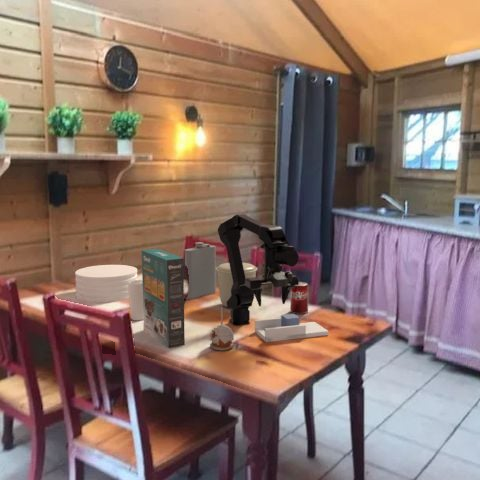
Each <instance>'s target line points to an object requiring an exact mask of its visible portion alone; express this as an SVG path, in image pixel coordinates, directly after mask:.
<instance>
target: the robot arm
mask: <svg viewBox="0 0 480 480" xmlns="http://www.w3.org/2000/svg"><path fill="white" fill-rule="evenodd" d="M244 229H245V230H247V231H249V232H251V233H253V234H255V235H257V236H258V239H259V240H260V241H261V242H262V244H261V245H260V246H259V248H260V249H263V250H264V251H263V252H264V253H263V254H264V256H263V258H264V259H263V263H262V268H263V269H264V270H263V274H262V279H260V278H258V277H257V276H255V277H253V278H247V279H246V278H245V273H244V268H243V263H244V262H243V259H242V254H241V249H240V245H239V243H240V240H241V238H242V231H243V230H244ZM217 233H218V235H219V239H220V241H221V242H222V244H223V245H224V246H225V249H226V253H227V259H228V263H229V264H230V269H231V274H232V279H233V285H232V288H231V297H230V298H229V300H228V301H227V307H226V308H229V309H230V318H229V322H230V323H231V324H232V325H234V326H240V325H250V324H251V322H250V317H251V316H250V315H251V313H250V312H251V311H250V310H249V307H252V306H253V302H254V299H256V301H257V305H258V307H262V291H263V289H262V288H261V287H262V286H264V285H272V286H273V287H274V288H280V287H281V302H282V304H283V305H285V304H286V302H287V301H286V300H287V299H288V296H289V294H290V293H291V289H292V288H293V287H295V285H299V282H300V279H299V277H298V276H296V275H294V274H293V273H292V271H283V266H287V267H295V266H296V265H297V264H298V262H299V258H300V255H299V253H298V252H297V250H295V246H293V245H290V242H289V240H288V239H287V237H286V236H287V235H286V234H285V232H284V230H283V227H281V226H280V225H274V224H267V223H266V224H265V223H264V222H261V221H259V220H257V219H254V218H252V217H250V216H248V215H247V214H245V213H239V214H235V215H233V216H231V218H229V219H227V220H225V221H223V222H222V223H219V226H218V228H217ZM282 265H283V266H282Z"/></svg>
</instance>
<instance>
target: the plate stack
mask: <svg viewBox="0 0 480 480" xmlns="http://www.w3.org/2000/svg"><path fill="white" fill-rule="evenodd" d="M74 272H75V273H74V275H75V292H76V294H75V297H76V299H78V300H79V301H83V302H89V303H112V302H120V301H125V300H129V292H128V283H129V282H130V281H134V280H138V268H137V267H135V266H131V265H125V264H101V265H92V266H86V267H82V268H79V269H77V270H76V271H74Z"/></svg>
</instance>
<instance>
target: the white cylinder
mask: <svg viewBox="0 0 480 480" xmlns="http://www.w3.org/2000/svg"><path fill="white" fill-rule="evenodd" d="M128 292H129V299H128V300H129V308H130V317H131V320H133V321H135V322H136V321H137V322H139V321H144V318H143V280H142V279H141V280H139V279H137V280H134V281H130V282H129V283H128Z"/></svg>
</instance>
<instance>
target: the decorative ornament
mask: <svg viewBox="0 0 480 480" xmlns="http://www.w3.org/2000/svg"><path fill="white" fill-rule="evenodd" d="M223 306H224V305H223V304H222V303H220V323H219V324H217V325H215V326H214V327H213V329H211V332H210V333H209V339H210V340H209V341H211V342H210V343H209V345H210V348H211V349H213V350H215V351H217V350H218V351H227V350H230V349H232V348H233V347H234V346H235V345H234V342H233V341H234V336H235V335H234V331H233V329H232V328H231V327H229V325H226V324H225V323H223V320H224V319H223V317H224V315H223V311H224V310H223V309H224V308H223Z"/></svg>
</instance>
